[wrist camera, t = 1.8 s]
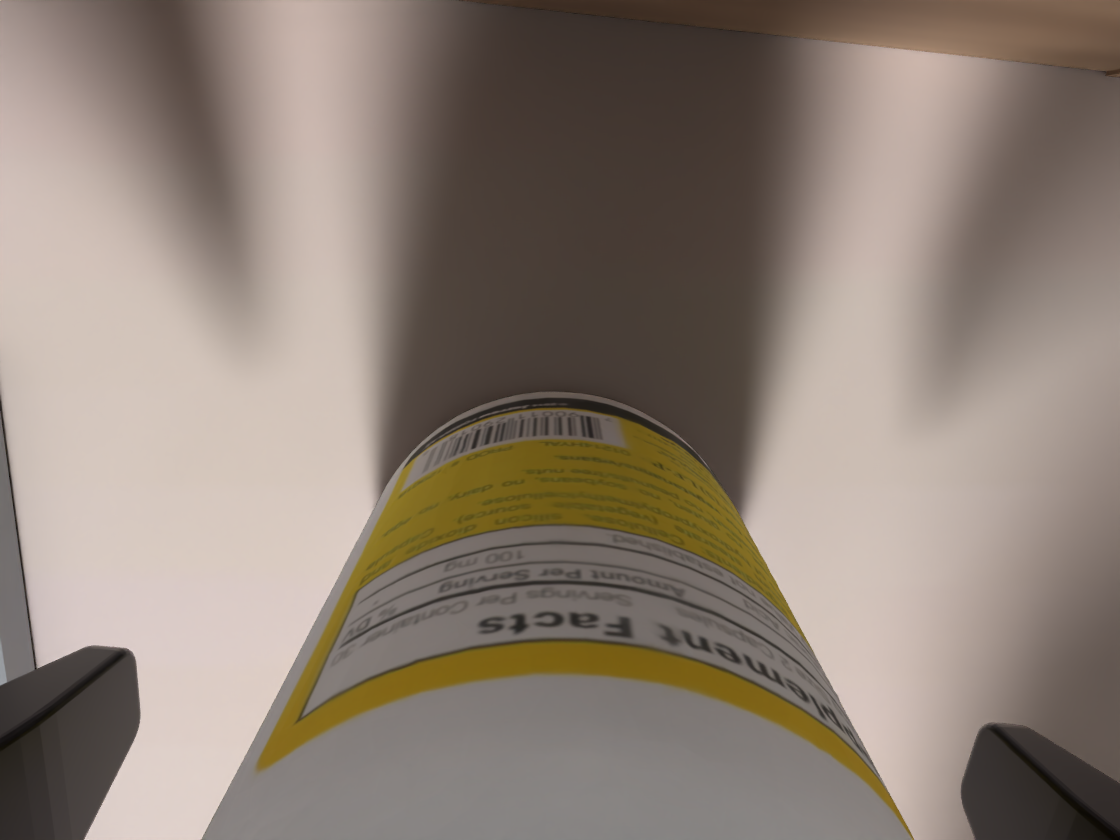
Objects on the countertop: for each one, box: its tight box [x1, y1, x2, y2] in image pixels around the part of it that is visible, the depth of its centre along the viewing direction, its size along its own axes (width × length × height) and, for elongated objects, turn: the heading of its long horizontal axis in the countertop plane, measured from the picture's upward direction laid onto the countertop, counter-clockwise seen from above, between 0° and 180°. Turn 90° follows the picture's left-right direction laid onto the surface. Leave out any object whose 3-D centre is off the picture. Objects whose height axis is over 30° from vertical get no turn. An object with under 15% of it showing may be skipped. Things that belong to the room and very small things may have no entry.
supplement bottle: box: [201, 392, 914, 840], centre depth 7 cm, size 5×5×10 cm
